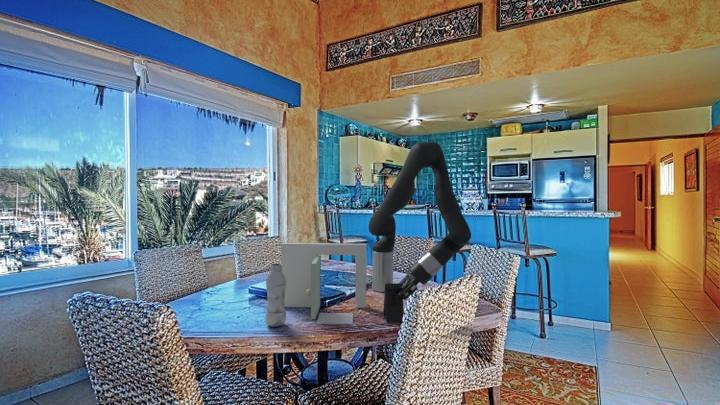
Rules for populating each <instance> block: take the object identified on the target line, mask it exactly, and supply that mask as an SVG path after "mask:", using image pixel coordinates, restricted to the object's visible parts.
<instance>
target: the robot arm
mask: <svg viewBox="0 0 720 405" xmlns="http://www.w3.org/2000/svg"><path fill="white" fill-rule="evenodd" d="M425 168H431V170H432V173H433V175H434V177H435V178H434V179H435V190H434V198H435V199H434V200H435V202H436V203H435V204H436V206H437V208H438V211H439V213H440V216H441V218H442V219H443V221H444V223H445V227H446V229H447V231H448V233H447V234H446V235H445V236H444V237H443V238H442V240H441V241H439V242H437V243H436V244H434V245H433V246H432V247H431V249H429V250H428V251H427V252H425V254H424V255H422V256H421V257H420V258H419V259H418V260H417V261H415V263H413V264H412V265H411V267H409V269H408V270H409V272H410V273H411V274H406V276H405V277H403V279H401V280H400V281H399V283H402V284H403V286H402V287H401V291H400V292H399V293H398V294H397V295H396V296H395V297H394V298H393V299H392V300H391V301H390V302H391V304H392V305H393V306H396V305H397V304H398V303H399V302H400V301H401V300H402V299H403V301H404V300H405V301H406V300H407V299H409V297H410V296H411V295H413V294H414V293H415V292H416V291H417V290H418V289H419V288H418V286H417V285H418V284H419V283H420V284H422V285H423V286H425V285H426V284H427V283H428V282H429V281H430V280H432V278H434V277H435V276H436V275H437V274H438V273H439V271H441V269H442V268H443V267H444V266H445V265H446V264H447V263H448V262H449V261H450V260H451V259H452V258H453V256H455V254H457V253H458V252H459V251H461V249H463V248H464V247H465V246H467V244H468V243H469V242H470V241H471V238H472V231H471V229H470V227H469V224H468V222H467V220H466V218H465V217H464V215H463V212H462V209H461V206H460V204H459V202H458V200H457V197H456V194H455V192H454V189H453V187H452V184H451V179H450V174H449V170H448V166H447V162H446V158H445V154H444V151H443V149H442V146H441V144H439V143H438V142H435V141H424V142H417V143H415V144H413V145H412V147H411V148H410V150H409V152H408V154H407V157H406V159H405V161H404V163H403V165H402V168H401V170H400V172H399V174H398V175H397V177H396V179H395V181H394V182H393V183H392V185H391V187H390V188H389V191H388V192H387V194H386V196H385V197H384V199H383V201H382V202H381V203H380V205H379V206H378V208H377V209H376V210H375V212H374V213H373V214H372V216H371V217H370V219H369V221H368V232H369V234H371V235H372V236H377V237H381V239H380V240H378V241H377V242H375V243H374V244H372V267H371V268H372V271H371V273H372V274H371V275H372V276H371V279H372V280H371V284H372V285H371V289H372V291H375V292H380V293H385V284H393V283H394V249H395V248H394V247H395V244H396V231H397V229H396V228H397V223H396V220H395V219H396V218H395V217H394V215H395V214H396V213H398V212H400V211H401V210H403V209H404V208H405V207H406V206H408V204H409V203H410V201H411V200H412V198H413V197H414V195H415V192H416V184H415V183H416V182H415V180H416V178H417V176H418V175H419V173H420V172H421V171H422V170H423V169H425Z"/></svg>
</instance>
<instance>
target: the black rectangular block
mask: <svg viewBox="0 0 720 405" xmlns="http://www.w3.org/2000/svg"><path fill="white" fill-rule="evenodd" d="M403 284H404V283H403ZM403 284H402V283H400V282H397V283H395V282H393V284H385V292H384V296H383V310H382V312H383V313H382V314H383V317H384V320H385V319H386V320H385V322H386V323H402V322H401V321H402V317H403V314H404V299H402V300H401V301H400V302H399V303H398V304H397V305H396V306H393V305H392V304H391V302H390V301H391V300H392V299H393V298H394V297H395V296H396V295H397V294H398V293H399V292H400V291H401V287H402V286H403ZM404 315H405V314H404ZM390 321H391V322H390Z"/></svg>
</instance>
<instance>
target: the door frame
mask: <svg viewBox="0 0 720 405" xmlns="http://www.w3.org/2000/svg"><path fill="white" fill-rule="evenodd" d="M367 245H368V244H367V243H333V242H331V243H327V242H326V243H323V242H322V243H320V242H319V243H317V242H316V243H315V242H308V243H307V242H281V244H280V264H282V273H283V274H284V276H285V277H286V280H287V282H286V289H285V297H284V298H285V300H284V301H285V308H310V320H316V319H317V320H316V325H354V312H353V313H351V312H344V313H343V312H320V313H319V310H320V308H321V290H322V288H321V287H322V286H321V282H322V280H321V279H322V278H321V274H322V272H321V270H322V269H321V268H322V266H321V265H322V263H321V262H322V260H321V258H322V256H323V255H324V256H325V255H326V256H330V255H331V256H355V288H354V290H355V291H354V292H355V295H354V296H355V299H354V300H355V302H354V304H355V305H354V306H355V309H366V308H367V257H368V256H367V252H368V251H367V248H368V246H367ZM317 315H318V317H317Z"/></svg>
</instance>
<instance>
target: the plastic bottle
mask: <svg viewBox="0 0 720 405" xmlns="http://www.w3.org/2000/svg"><path fill="white" fill-rule="evenodd" d="M269 268H270V269H269V271H270V273H269V274H268V275H267V277H266V280H265V287H266V293H267V295H266V296H267V305H266V313H265V317H264V318H265V324H266V325H267V326H269V327H272V328H273V327H276V328H277V327H282V326H284V325H285V323H286V321H287V312H286V307H285V301H284V300H285V298H284V297H285V289H286V282H287V280H286V277H285V276H284V274H283V273H282V264H281V263H271V264H270V265H269Z"/></svg>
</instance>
